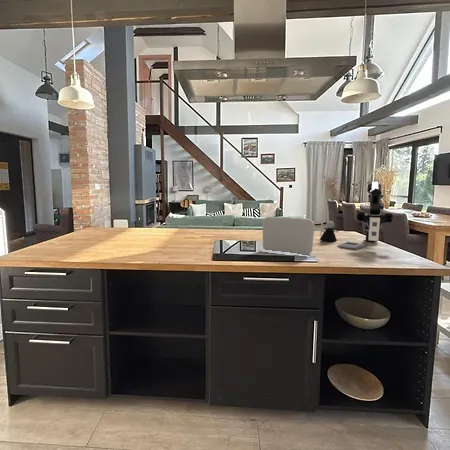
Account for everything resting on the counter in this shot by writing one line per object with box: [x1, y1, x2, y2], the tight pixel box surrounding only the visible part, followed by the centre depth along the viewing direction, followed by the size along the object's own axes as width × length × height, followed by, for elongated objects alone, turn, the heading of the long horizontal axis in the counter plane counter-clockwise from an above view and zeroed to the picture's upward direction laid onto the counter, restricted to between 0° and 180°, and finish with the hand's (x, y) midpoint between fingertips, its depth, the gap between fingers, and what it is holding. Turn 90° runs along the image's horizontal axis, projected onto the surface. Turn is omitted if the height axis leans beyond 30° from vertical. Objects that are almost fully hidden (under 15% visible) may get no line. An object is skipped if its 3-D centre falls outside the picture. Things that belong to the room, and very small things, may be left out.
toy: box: [319, 220, 339, 243], centre depth 216 cm, size 12×7×15 cm, turn 84°
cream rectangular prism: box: [368, 217, 380, 242], centre depth 189 cm, size 5×5×13 cm
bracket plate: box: [337, 241, 368, 251], centre depth 201 cm, size 17×12×2 cm
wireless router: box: [262, 216, 317, 258], centre depth 178 cm, size 31×10×20 cm, turn 65°
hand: (374, 228), depth 187 cm, fingers closed on cream rectangular prism, 5 cm apart
